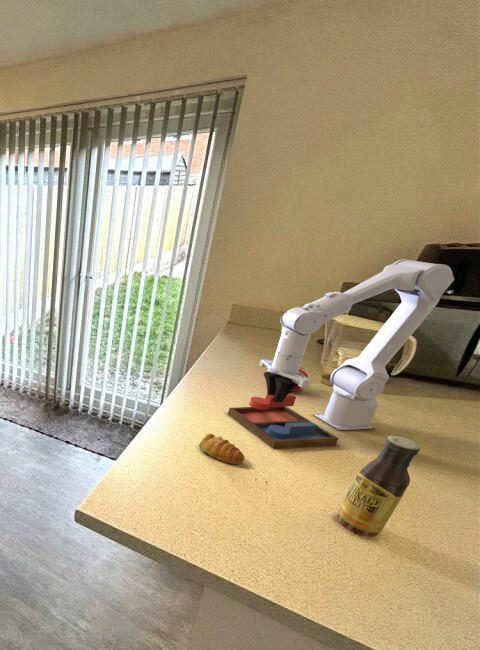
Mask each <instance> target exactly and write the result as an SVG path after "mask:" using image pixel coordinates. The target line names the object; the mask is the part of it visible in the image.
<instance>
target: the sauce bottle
mask: <svg viewBox="0 0 480 650" xmlns="http://www.w3.org/2000/svg"><path fill="white" fill-rule="evenodd" d="M383 443H384V446H383V447H382V449H381V450H380V453H379V454H378V456H377V457H376V458H375V459H373V460H371V461H369V462H368V463H366V464H365V466H363V468H362V469H360V470H359V472H358V473H357V474H356V476H355V479H354V481H353V482H352V484H351V486H350V488H349V490H348V492H347V494H346V496H345V497H344V499H343V502H342V503H341V505H340V507H339V509H338V513H337V516H336V519H337V521H338V523H339V524H340V525H341V527H343V528H344V529H346V530H348V531H349V532H351V533H353V534H355V535H357V536H360V537H367V538H374V537H377V536H378V535H379V534H380V533H381V532H382V531H383V530H384V529H385V527H386V525H387V523H388V522H389V520H390V518H391V517H392V515H393V513H394V512H395V510H396V508H397V507H398V505H399V503H400V502H401V500H402V498H404V495H405V492H406V490H407V489H408V487H409V486H410V483H411V477H410V474H409V470H408V469H409V467H410V466H411V465H410V464H411V462H412V461H413V459H414V457H415V456H417V455H418V454H419V452H420V450H421V445H420V444H419V443H417V442H416V441H414V440H412V439H409V438H407V437H404V436H398V435H389V436H387V438H385V441H384V442H383Z"/></svg>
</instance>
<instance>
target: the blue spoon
mask: <svg viewBox="0 0 480 650" xmlns="http://www.w3.org/2000/svg"><path fill="white" fill-rule="evenodd" d="M318 426H319V425H318V424H316V423H315V422H313V421H311V422H300V423H286V424H285V427H282V426H279V425H270V426H269V428H268V431H267V433H268V434H269V435H270V436H272V437H273V438H276V439H287V438H288V436H308V435H315V432H316V429H317V427H318Z"/></svg>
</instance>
